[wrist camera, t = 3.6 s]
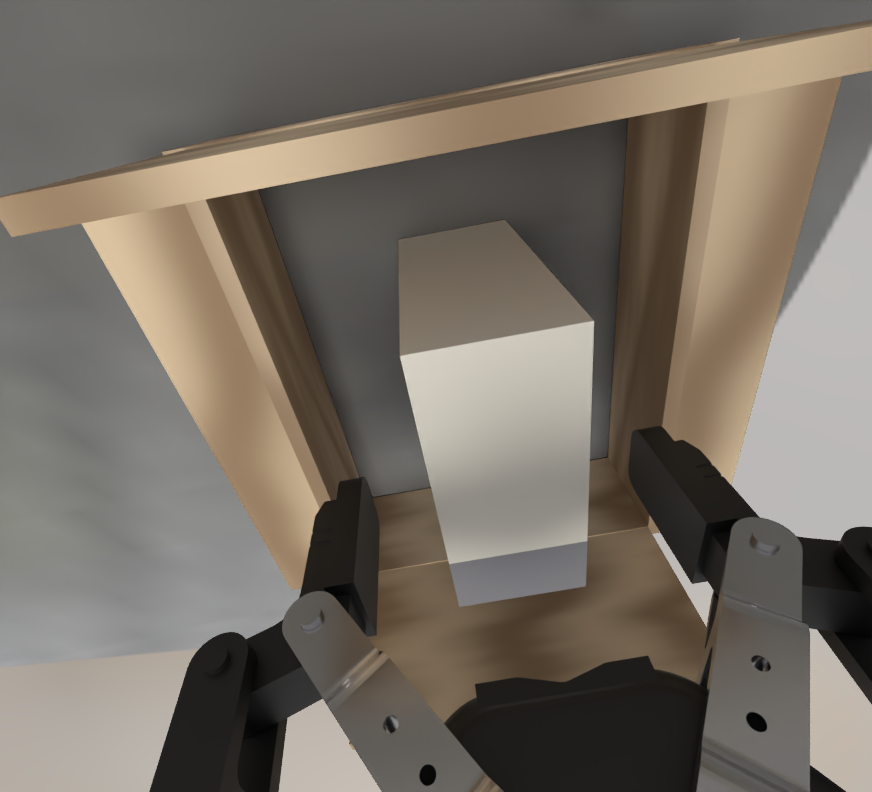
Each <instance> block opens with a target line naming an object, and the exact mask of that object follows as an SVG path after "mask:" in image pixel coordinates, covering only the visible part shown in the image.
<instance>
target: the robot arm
mask: <svg viewBox="0 0 872 792" xmlns="http://www.w3.org/2000/svg"><path fill="white" fill-rule="evenodd" d="M628 473H629V478H630V482H631V484H632V487H633V489H634V491H635V492H636V494H637V495H638V497H639V499H640V500H641V502H642V503H643V505H644V507H645V508H646V510H647V512H648V513H649V515H650V516H651V518H652V520H653V521H654V523H655V525H656V526H657V528H658V529H659V531H660V533H661V534H662V535H663V537H664V539H665V541H666V542H667V544H668V546H669V547H670V549H671V550H672V552H673V554H674V555H675V557H676V558H677V560H678V561H679V563H680V565H681V566H682V568H683V570H684V571H685V573H686V575H687V576H688V578H689V580H690V581H691V582H692V584H694V583H700V582H706V581H708V582H709V584H710V585H711V587H712V588H713V590H714V591H713V595H712V599H711V605H710V611H709V617H708V623H707V628H706V634H705V640H704V646H703V652H702V658H701V663H700V667H699V671H698V676H697V680H696V682H694V681H691V680H689V679H687V678H685V677H683V676H680V675H677V674H674V673H671V672H667V671H663V670H657V669H654V667H653V665H652V663H651V661H650V658H649V656H642V657H636V658H630V659H624V660H618V661H611V662H605V663H603V664H601V665H599V666H597V667H595V668H593V669H591V670H589V671H587V672H585V673H583V674H581V675H579V676H577V677H575V678H573V679H571V680H569V681H566V682H556V681H547V680H538V679H529V678H521V677H515V678H509V679H503V680H496V681H490V682H484V683H478V684H475V689H476V696H477V697H476V698H474V699H472V700H470V701H468V702H467V703H465V704H464V705H462V706H461V707H459V708H458V709H457V710H456V711H455V712H454V713H453V714H452V715H451V716H450V717H449V718H448V719H447V720H446V722H445V723H443V722H442V721H441V719H440V718H439V717H438V716H437V715H436V713H435V712H434V711H433V710H432V709H431V707H430V706H429V705H428V704H427V702H426V701H425V700H424V699H423V698H422V696H421V695H420V694H419V693H418V692H417V690H416V689H415V688H414V687H413V686H412V684H411V683H410V682H409V681H408V679H407V678H406V677H405V676H404V675H403V673H402V672H401V671H400V670H399V669H398V667H397V666H396V665H395V664H394V663H393V661H392V660H391V659H390V658H389V657H388V656H387V655H386V654H385V653H384V652H383V651H379V650H378V649H377V648H376V647H375V646H374V645H373V644H372V642H371V641H370V640H369V639H368V637H371V636H377V605H378V573H379V541H380V526H379V519H378V514H377V510H376V507H375V504H374V501H373V498H372V495H371V492H370V489H369V486H368V483H367V481H366V479H365V477H361V478H355V479H349V480H344V481H340V482H339V484H338V491H337V498H336V500H331V501H325V502H324V503H323V505H322V506H321V508H320V509H319V511H318V513H317V514H316V516H315V520H314V525H313V530H312V532H313V534H312V536H311V541H310V547H309V551H308V557H307V562H306V567H305V573H304V578H303V583H302V589H301V594H300V597H299V599H298V600H297V601H295V602H294V603H293V604H292V605H291V607H290V608H289V609H288V611H287V612H286V614H285V617H284V619H283V620H282V621H280V622H279V623H278V624H276V625H274V626H272V627H270V628H268V629H266V630H264V631H262V632H260V633H258V634H256V635H254V636H252V637H250V638H248V639H245V638H244V637H243V636H242V635H240V634H238V633H235V632H228V633H223V634H220V635H218V636H215V637H214V638H212V639H210V640H209V641H208V642H206V643H205V644H204V645H203V646H202V647H201V648H200V649H199V650H198V651H197V652H196V654H195V655H194V656H193V658H192V660H191V662H190V663H189V666H188V668H187V671H186V675H185V678H184V681H183V685H182V688H181V691H180V694H179V697H178V701H177V704H176V707H175V711H174V714H173V717H172V720H171V723H170V727H169V730H168V733H167V737H166V740H165V743H164V746H163V749H162V753H161V756H160V760H159V763H158V766H157V769H156V772H155V776H154V779H153V782H152V785H151V788H150V792H278V790H279V783H280V774H281V766H282V758H283V750H284V741H285V733H286V724H287V718H288V717H289V716H291V715H293V714H295V713H297V712H299V711H301V710H302V709H304V708H306V707H308V706H310V705H312V704H313V703H315V702H317V701H319V700H321V699H324V701H325V703H326V704H327V706H328V707H329V709H330V710H331V712H332V714H333V715H334V717H335V718H336V720H337V722H338V723H339V724H340V726H341V728H342V729H343V731H344V732H345V734H346V736H347V737H348V739H349V740H350V742H351V744H352V745H353V747H354V748H355V750H356V752H357V753H358V755H359V756H360V758H361V759H362V761H363V762H364V764H365V766H366V767H367V769H368V770H369V772H370V773H371V775H372V777H373V778H374V780H375V782H376V783H377V785H378V786H379V788H380V789H381V791H382V792H846V791H845V790H843V789H842V788H841V787H839V786H838V785H836V784H835V783H834V782H832V781H831V780H830V779H828V778H827V777H825V776H824V775H823V774H822V773H820V772H819V771H818V770H816V769H815V768H813V767H812V766H811V765H810V631H809V628H812V629H817V630H818V631H819V633H820V634H821V635H822V637H823V638H824V639H825V641H826V642H827V643H828V645H829V646H830V648H831V649H832V651H833V652H834V653H835V655H836V656H837V657H838V659H839V660H840V662H841V663H842V664H843V666H844V667H845V668H846V669H847V671H848V672H849V674H850V675H851V677H852V678H853V679H854V681H855V682H856V683H857V685H858V686H859V687H860V689H861V690H862V692H863V693H864V694H865V696H866V697H867V698H868V700H869V701H870V702H871V704H872V527H855V528H852V529H849V530H848V531H846V532H845V533H844V535H843V536H842V538H841V541H834V540H823V539H812V538H803V537H797V536H795V535H794V533H792V532H791V531H790V530H789V529H787V528H786V527H784V526H783V525H781V524H779V523H777V522H774V521H772V520H769V519H764V518H760V517H759V516H758V515H757V514H756V513H755V512H754V511H753V510H752V508H751V507H750V506H749V505H748V504H747V503H746V502H745V500H744V499H743V498H742V497H741V496H740V495H739V494H738V492H737V491H736V490H735V489H734V488H733V487H732V486H731V484H730V483H729V482H728V481H727V480H726V479H725V478H724V476H723V477H722V476H721V473H720V472H719V471H718V470H717V468H716V467H715V466H712V463H711V462H710V461H709V459H708V458H707V457H706V456H705V455H704V454H703V453H702V451H701V450H700V449H698V448H696V447H694V446H693V445H691V444H689V443H688V442H686V441H684V440H678V441H674V440H673V439H672V437H671V436H670V435H669V434H668V433H667V431H666V430H665V429H664V428H663V427H662V426H655V427H649V428H643V429H638V430H634V431H633V432H632V435H631V444H630V455H629V465H628Z"/></svg>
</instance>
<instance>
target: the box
mask: <svg viewBox="0 0 872 792" xmlns="http://www.w3.org/2000/svg"><path fill="white" fill-rule="evenodd" d="M398 261H399V334H400V359H401V363H402V367H403V372H404V376H405V380H406V384H407V388H408V393H409V397H410V401H411V405H412V410H413V414H414V418H415V422H416V426H417V431H418V435H419V439H420V443H421V447H422V452H423V456H424V460H425V464H426V469H427V473H428V477H429V481H430V485H431V490H432V494H433V498H434V502H435V506H436V511H437V515H438V519H439V523H440V528H441V532H442V536H443V540H444V544H445V549H446V553H447V557H448V561H449V565H450V570H451V574H452V578H453V582H454V587H455V591H456V595H457V599H458V603H459V607H463V606H469V605H475V604H481V603H487V602H493V601H499V600H505V599H512V598H518V597H524V596H530V595H536V594H542V593H548V592H554V591H560V590H566V589H572V588H579V587H585V586H586V568H587V536H588V503H589V470H590V438H591V405H592V372H593V339H594V320H593V319H592V318H591V317H590V316H589V314H588V313H587V312H586V311H585V310H584V309H583V308H582V307H581V305H580V304H579V303H578V302H577V301H576V300H575V299H574V297H573V296H572V295H571V294H570V293H569V292H568V291H567V290H566V288H565V287H564V286H563V285H562V284H561V283H560V282H559V280H558V279H557V278H556V277H555V276H554V275H553V274H552V273H551V271H550V270H549V269H548V268H547V267H546V266H545V265H544V263H543V262H542V261H541V260H540V259H539V258H538V257H537V255H536V254H535V253H534V252H533V251H532V250H531V249H530V248H529V246H528V245H527V244H526V243H525V242H524V241H523V240H522V238H521V237H520V236H519V235H518V234H517V233H516V232H515V231H514V229H513V228H512V227H511V226H510V225H509V224H508V223H507V221H506V220H501V221H495V222H490V223H485V224H479V225H474V226H469V227H464V228H458V229H453V230H448V231H442V232H437V233H432V234H426V235H421V236H416V237H411V238H405V239H400V240H398Z"/></svg>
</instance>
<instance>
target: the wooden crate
mask: <svg viewBox="0 0 872 792" xmlns="http://www.w3.org/2000/svg"><path fill="white" fill-rule="evenodd" d="M739 39H740V38H737V39H731V40H725V41H719V42H714V43H708V44H702V45H696V46H690V47H684V48H678V49H672V50H666V51H660V52H654V53H649V54H644V55H639V56H633V57H628V58H623V59H618V60H613V61H608V62H603V63H598V64H593V65H588V66H583V67H578V68H573V69H568V70H563V71H558V72H552V73H547V74H542V75H537V76H532V77H527V78H522V79H517V80H512V81H507V82H502V83H497V84H492V85H487V86H482V87H477V88H471V89H466V90H461V91H456V92H451V93H446V94H441V95H436V96H431V97H426V98H421V99H416V100H411V101H406V102H401V103H396V104H391V105H385V106H380V107H375V108H370V109H365V110H360V111H355V112H350V113H345V114H340V115H335V116H330V117H325V118H320V119H315V120H310V121H304V122H299V123H294V124H289V125H284V126H279V127H274V128H269V129H264V130H259V131H254V132H249V133H244V134H239V135H234V136H229V137H223V138H219V139H215V140H211V141H206V142H202V143H198V144H194V145H190V146H186V147H181V148H177V149H173V150H169V151H165V152H162V153H163V156H159V157H155V158H151V159H147V160H143V161H139V162H135V163H131V164H127V165H123V166H119V167H115V168H112V169H108V170H104V171H100V172H96V173H92V174H88V175H84V176H80V177H76V178H72V179H68V180H64V181H60V182H56V183H52V184H49V185H45V186H41V187H37V188H33V189H29V190H25V191H21V192H17V193H13V194H9V195H5V196H1V197H0V220H1V222H2V223H3V225H4V226H5V228H6V229H7V231H8V232H9V234H10V235H11V237H14V236H19V235H25V234H30V233H35V232H40V231H45V230H50V229H56V228H61V227H66V226H71V225H76V224H81V223H82V225H83V227H84V229H85V230H86V232H87V234H88V236H89V237H90V239H91V241H92V243H93V244H94V246H95V248H96V250H97V251H98V253H99V255H100V257H101V258H102V260H103V262H104V263H105V265H106V267H107V269H108V270H109V272H110V274H111V276H112V277H113V279H114V281H115V283H116V284H117V286H118V288H119V290H120V291H121V293H122V295H123V297H124V298H125V300H126V302H127V304H128V305H129V307H130V309H131V311H132V312H133V314H134V316H135V318H136V319H137V321H138V323H139V325H140V326H141V328H142V330H143V332H144V333H145V335H146V337H147V339H148V340H149V342H150V344H151V345H152V347H153V349H154V351H155V352H156V354H157V356H158V358H159V359H160V361H161V363H162V365H163V366H164V368H165V370H166V372H167V373H168V375H169V377H170V379H171V380H172V382H173V384H174V386H175V387H176V389H177V391H178V393H179V394H180V396H181V398H182V400H183V401H184V403H185V405H186V407H187V408H188V410H189V412H190V414H191V415H192V417H193V419H194V420H195V422H196V424H197V426H198V427H199V429H200V431H201V433H202V434H203V436H204V438H205V440H206V441H207V443H208V445H209V447H210V448H211V450H212V452H213V454H214V455H215V457H216V459H217V461H218V462H219V464H220V466H221V468H222V469H223V471H224V473H225V475H226V476H227V478H228V480H229V482H230V483H231V485H232V487H233V489H234V490H235V492H236V494H237V496H238V497H239V499H240V501H241V502H242V504H243V506H244V508H245V509H246V511H247V513H248V515H249V516H250V518H251V520H252V522H253V523H254V525H255V527H256V529H257V530H258V532H259V534H260V536H261V537H262V539H263V541H264V543H265V544H266V546H267V548H268V550H269V551H270V553H271V555H272V557H273V558H274V560H275V562H276V564H277V565H278V567H279V569H280V571H281V572H282V574H283V576H284V577H285V579H286V581H287V583H288V584H289V586H290V588H291V590H293V589H299V588H302V583H303V578H304V573H305V567H306V562H307V557H308V551H309V547H310V541H311V536H312V534H313V532H312V530H313V525H314V520H315V516H316V514H317V513H318V511H319V509H320V508H321V506H322V505H323V503H324V502H325V501H331V500H336V498H337V491H338V484H339V482H340V481H344V480H349V479H355V478H359V475H358V472H357V469H356V466H355V463H354V461H353V458H352V455H351V452H350V449H349V446H348V444H347V441H346V438H345V435H344V432H343V429H342V427H341V424H340V421H339V418H338V415H337V412H336V410H335V407H334V404H333V401H332V398H331V395H330V393H329V390H328V387H327V384H326V381H325V378H324V376H323V373H322V370H321V367H320V364H319V361H318V359H317V356H316V353H315V350H314V347H313V344H312V341H311V339H310V336H309V333H308V330H307V327H306V324H305V322H304V319H303V316H302V313H301V310H300V307H299V305H298V302H297V299H296V296H295V293H294V290H293V288H292V285H291V282H290V279H289V276H288V273H287V271H286V268H285V265H284V262H283V259H282V256H281V254H280V251H279V248H278V245H277V242H276V239H275V237H274V234H273V231H272V228H271V225H270V222H269V220H268V217H267V214H266V211H265V208H264V205H263V203H262V200H261V197H260V194H259V191H258V189H262V188H267V187H273V186H278V185H283V184H288V183H293V182H298V181H303V180H309V179H314V178H319V177H324V176H329V175H334V174H340V173H345V172H350V171H355V170H360V169H365V168H371V167H376V166H381V165H386V164H391V163H396V162H402V161H407V160H412V159H417V158H422V157H427V156H433V155H438V154H443V153H448V152H453V151H458V150H464V149H469V148H474V147H479V146H484V145H489V144H495V143H500V142H505V141H510V140H515V139H520V138H526V137H531V136H536V135H541V134H546V133H551V132H557V131H562V130H567V129H572V128H577V127H582V126H588V125H593V124H598V123H603V122H608V121H613V120H618V119H624V118H628V129H627V145H626V162H625V179H624V196H623V212H622V229H621V246H620V263H619V279H618V296H617V313H616V330H615V346H614V363H613V380H612V397H611V413H610V430H609V447H608V458H602V459H597V460H591V461H590V470H589V503H588V536H587V568H586V586H585V587H579V588H572V589H566V590H560V591H554V592H548V593H542V594H536V595H530V596H524V597H518V598H512V599H505V600H499V601H493V602H487V603H481V604H475V605H469V606H463V607H459V603H458V599H457V595H456V591H455V587H454V582H453V578H452V574H451V570H450V565H449V561H448V557H447V553H446V549H445V544H444V540H443V536H442V532H441V528H440V523H439V519H438V515H437V511H436V506H435V502H434V498H433V494H432V490H431V488H428V489H422V490H416V491H410V492H404V493H398V494H393V495H387V496H381V497H375V498H373V501H374V504H375V507H376V510H377V514H378V519H379V526H380V541H379V573H378V605H377V636H371V637H368V639H369V640H370V641H371V642H372V644H373V645H374V646H375V647H376V648H377V649H378V650H379V651H383V652H384V653H385V654H386V655H387V656H388V657H389V658H390V659H391V660H392V661H393V663H394V664H395V665H396V666H397V667H398V669H399V670H400V671H401V672H402V673H403V675H404V676H405V677H406V678H407V679H408V681H409V682H410V683H411V684H412V686H413V687H414V688H415V689H416V690H417V692H418V693H419V694H420V695H421V696H422V698H423V699H424V700H425V701H426V702H427V704H428V705H429V706H430V707H431V709H432V710H433V711H434V712H435V713H436V715H437V716H438V717H439V718H440V719H441V721H442V722H443V723H445V722H446V720H447V719H448V718H449V717H450V716H451V715H452V714H453V713H454V712H455V711H456V710H457V709H458V708H459V707H461V706H462V705H464V704H465V703H467V702H468V701H470V700H472V699H474V698H476V697H477V696H476V689H475V684H478V683H484V682H490V681H496V680H503V679H509V678H515V677H521V678H529V679H538V680H547V681H556V682H566V681H569V680H571V679H573V678H575V677H577V676H579V675H581V674H583V673H585V672H587V671H589V670H591V669H593V668H595V667H597V666H599V665H601V664H603V663H605V662H611V661H618V660H624V659H630V658H636V657H642V656H649V658H650V661H651V663H652V665H653V667H654V669H657V670H663V671H667V672H671V673H674V674H677V675H680V676H683V677H685V678H687V679H689V680H691V681H694V682H696V680H697V676H698V671H699V667H700V663H701V658H702V652H703V646H704V640H705V634H706V628H707V627H706V626H705V624H704V622H703V621H702V619H701V617H700V615H699V614H698V612H697V610H696V609H695V607H694V605H693V604H692V602H691V600H690V598H689V597H688V595H687V593H686V591H685V590H684V588H683V586H682V585H681V583H680V581H679V579H678V578H677V576H676V574H675V573H674V571H673V569H672V568H671V566H670V564H669V562H668V561H667V559H666V557H665V556H664V554H663V552H662V550H661V549H660V547H659V545H658V544H657V542H656V540H655V538H654V537H653V535H652V534H654V533H659V529H658V528H657V526H656V525H655V523H654V521H653V520H652V518H651V516H650V515H649V513H648V512H647V510H646V508H645V507H644V505H643V503H642V502H641V500H640V499H639V497H638V495H637V494H636V492H635V491H634V489H633V487H632V484H631V482H630V478H629V473H628V465H629V455H630V444H631V435H632V432H633V431H634V430H638V429H643V428H649V427H655V426H662V427H663V428H664V429H665V430H666V431H667V433H668V434H669V435H670V436H671V437H672V439H673V440H674V441H678V440H684V441H686V442H688V443H689V444H691V445H693V446H694V447H696V448H698V449H700V450H701V451H702V453H703V454H704V455H705V456H706V457H707V458H708V459H709V461H710V462H711V463H712V466H715V467H716V468H717V470H718V471H719V472H720V473H721V476H722V477H723V476H724V478H725V479H726V480H727V481H728V482H729V483H730V484H731V485H732V481H733V477H734V474H735V470H736V466H737V463H738V459H739V455H740V452H741V447H742V444H743V440H744V436H745V433H746V429H747V426H748V422H749V418H750V415H751V411H752V407H753V403H754V400H755V396H756V393H757V389H758V385H759V381H760V377H761V374H762V370H763V367H764V363H765V359H766V356H767V352H768V348H769V345H770V341H771V337H772V333H773V330H774V326H775V322H776V319H777V315H778V311H779V308H780V304H781V300H782V297H783V293H784V289H785V286H786V282H787V278H788V274H789V271H790V267H791V263H792V260H793V256H794V252H795V249H796V245H797V241H798V238H799V234H800V230H801V227H802V223H803V219H804V215H805V212H806V208H807V204H808V201H809V197H810V193H811V190H812V186H813V182H814V179H815V175H816V171H817V168H818V164H819V160H820V156H821V153H822V149H823V145H824V142H825V138H826V134H827V131H828V127H829V123H830V120H831V116H832V112H833V108H834V105H835V101H836V97H837V94H838V90H839V86H840V83H841V79H842V76H846V75H851V74H856V73H861V72H866V71H872V20H870V21H864V22H858V23H852V24H845V25H839V26H833V27H826V28H820V29H814V30H808V31H801V32H795V33H789V34H783V35H776V36H770V37H764V38H758V39H751V40H745V41H739ZM349 744H350V746H351V747H352V749H353V750H354V749H355V748H354V747H353V745H352V744H351V742H350V743H349Z"/></svg>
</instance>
